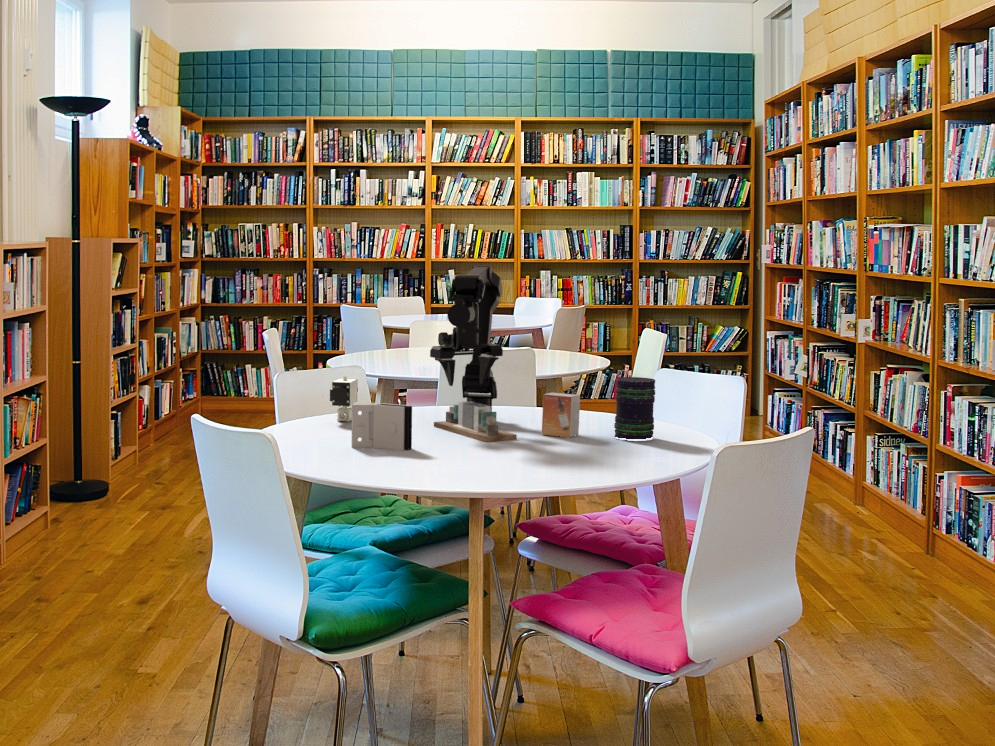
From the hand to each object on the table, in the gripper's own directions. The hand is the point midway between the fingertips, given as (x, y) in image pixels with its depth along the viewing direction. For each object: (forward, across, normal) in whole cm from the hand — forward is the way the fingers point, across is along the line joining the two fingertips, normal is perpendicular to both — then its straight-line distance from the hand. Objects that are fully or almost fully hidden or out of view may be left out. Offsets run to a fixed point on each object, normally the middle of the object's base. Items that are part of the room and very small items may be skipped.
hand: (466, 384), depth 274 cm
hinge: (+12, +31, +13) cm, 36 cm away
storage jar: (+12, -31, +30) cm, 45 cm away
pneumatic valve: (+12, +22, -27) cm, 37 cm away
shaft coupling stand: (+12, 0, +5) cm, 13 cm away
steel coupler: (+10, 0, +4) cm, 11 cm away
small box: (+12, -17, +17) cm, 27 cm away
